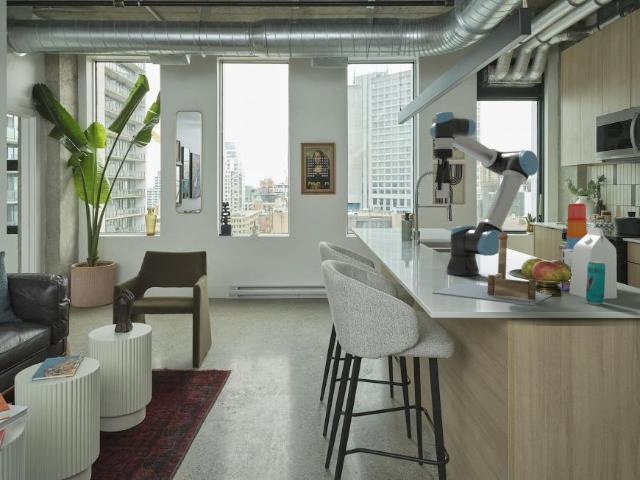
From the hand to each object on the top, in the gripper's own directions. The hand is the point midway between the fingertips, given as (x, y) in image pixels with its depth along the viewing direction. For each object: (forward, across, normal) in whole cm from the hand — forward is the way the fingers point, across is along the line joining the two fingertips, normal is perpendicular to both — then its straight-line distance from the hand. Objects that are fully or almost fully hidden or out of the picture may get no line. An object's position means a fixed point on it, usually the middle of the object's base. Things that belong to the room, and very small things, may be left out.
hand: (442, 198), depth 239 cm
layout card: (+37, +21, +24) cm, 49 cm away
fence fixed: (+36, +29, +31) cm, 56 cm away
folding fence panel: (+36, +17, +25) cm, 47 cm away
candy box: (+37, -2, +55) cm, 67 cm away
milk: (+37, +10, +60) cm, 71 cm away
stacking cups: (+37, -19, +55) cm, 69 cm away
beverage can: (+37, +26, +59) cm, 75 cm away
